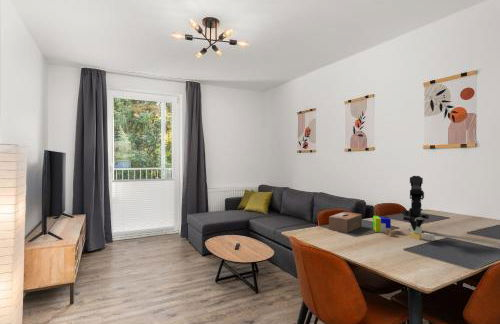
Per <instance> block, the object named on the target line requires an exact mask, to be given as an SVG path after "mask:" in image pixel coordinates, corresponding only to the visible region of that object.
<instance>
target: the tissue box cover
mask: <svg viewBox="0 0 500 324" xmlns="http://www.w3.org/2000/svg"><path fill="white" fill-rule="evenodd" d="M362 219H363V214H361V213H356V212H351V211H349V212H348V211H343V212H339V213H335V214H333V215H330V216H328V230H330V231H331V230H332V231H336V232H341V233H346V234H347V233H350V232H352V231H354V229H355V230H357V229H359V228H362V225H363V224H362V223H363V220H362Z"/></svg>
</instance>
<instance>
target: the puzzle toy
mask: <svg viewBox="0 0 500 324" xmlns="http://www.w3.org/2000/svg"><path fill="white" fill-rule="evenodd" d="M391 220H392V219H391V218H390V217H389V216H387V215H385V216H384V215H373V216H372V229H373V231H374V230H375V231H374V232H375V233H384V234H385V229H390V230H392V229H391V225H392V223H391V222H392V221H391Z"/></svg>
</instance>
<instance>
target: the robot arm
mask: <svg viewBox="0 0 500 324" xmlns="http://www.w3.org/2000/svg"><path fill="white" fill-rule="evenodd" d="M423 181H424V179H423V177H421V176H420V175H412V176H410V177H409V184H410V190H409V199H411V200H410V201H411V202H410V204H411V205H410V207H409V210H407V209H402V210H401V215H403V217H402V220H403V221H405V222H406V221H407V222H409V223H410V226H412V228H413V230H414V231H415V229H416V226H418V227H422V225H423V224H424V222H425V220H429V219H430V218H429V216H430V215H428V214H426V213H422V211H423V210H424V209H423V208H422V206H423V205H422V201H423V200H424V198H425V192H424V190H423V189H422V184H424V182H423ZM408 231H410V228H409V229H408Z"/></svg>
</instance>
